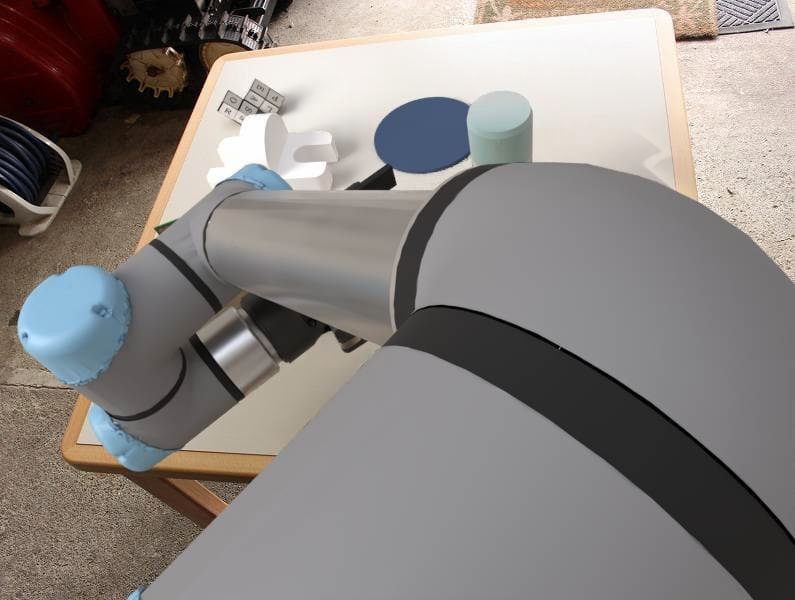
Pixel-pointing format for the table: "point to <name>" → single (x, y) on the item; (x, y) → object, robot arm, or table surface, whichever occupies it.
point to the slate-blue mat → (424, 135)
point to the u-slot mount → (278, 153)
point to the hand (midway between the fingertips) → (434, 205)
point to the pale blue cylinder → (500, 129)
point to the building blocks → (250, 102)
